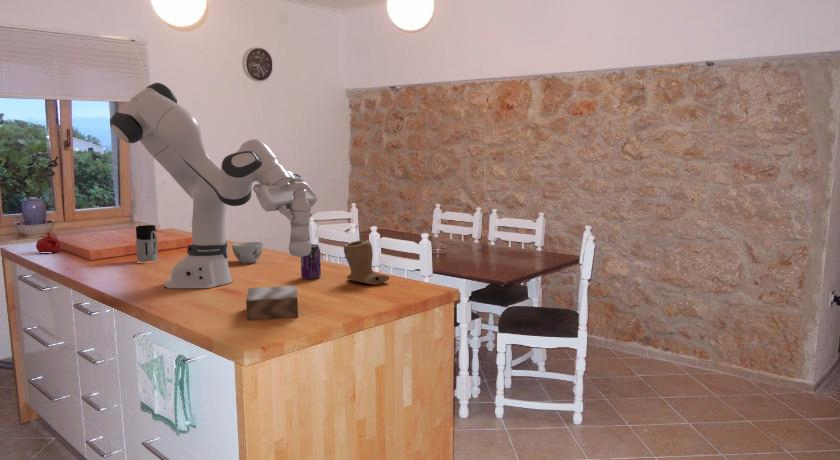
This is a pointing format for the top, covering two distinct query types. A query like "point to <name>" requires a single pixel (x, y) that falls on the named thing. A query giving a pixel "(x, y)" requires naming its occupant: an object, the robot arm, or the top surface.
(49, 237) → the pomegranate
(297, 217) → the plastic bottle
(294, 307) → the metal riser
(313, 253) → the beverage can
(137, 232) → the grey and black mug
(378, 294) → the top surface
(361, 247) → the brown boot
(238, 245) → the teacup
